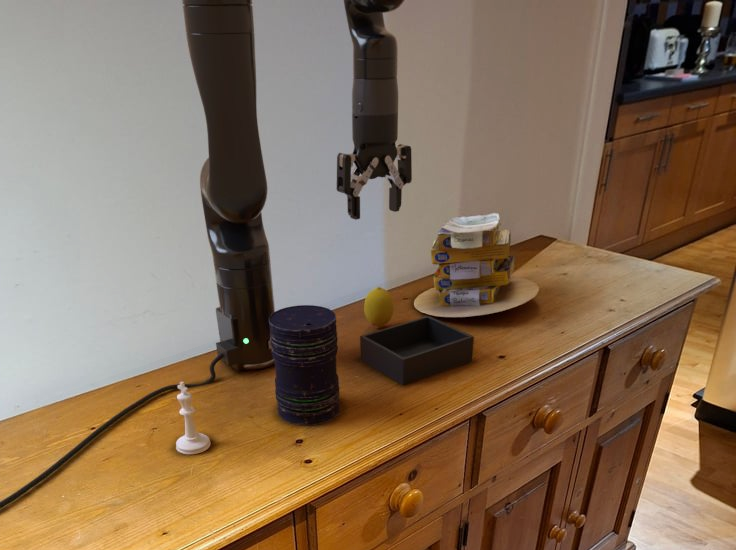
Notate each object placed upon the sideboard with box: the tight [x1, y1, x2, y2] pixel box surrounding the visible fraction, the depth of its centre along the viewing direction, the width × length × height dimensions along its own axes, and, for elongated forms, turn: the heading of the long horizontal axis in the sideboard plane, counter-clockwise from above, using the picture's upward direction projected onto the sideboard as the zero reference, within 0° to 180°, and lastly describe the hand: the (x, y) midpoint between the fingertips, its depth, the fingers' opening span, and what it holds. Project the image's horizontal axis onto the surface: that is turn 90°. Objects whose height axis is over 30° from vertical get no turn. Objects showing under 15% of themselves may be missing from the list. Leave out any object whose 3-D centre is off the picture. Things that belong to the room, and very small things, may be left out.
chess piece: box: [175, 381, 211, 455], centre depth 99 cm, size 5×5×10 cm
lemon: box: [363, 286, 394, 329], centre depth 133 cm, size 6×6×8 cm
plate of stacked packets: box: [413, 212, 540, 318], centre depth 139 cm, size 25×25×17 cm
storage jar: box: [269, 304, 341, 426], centre depth 105 cm, size 10×10×15 cm
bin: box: [359, 315, 475, 386], centre depth 122 cm, size 15×12×4 cm
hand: (374, 214), depth 124 cm, fingers open, 8 cm apart
